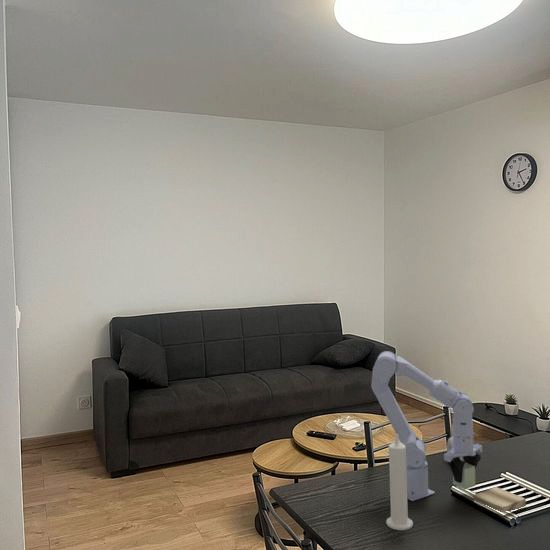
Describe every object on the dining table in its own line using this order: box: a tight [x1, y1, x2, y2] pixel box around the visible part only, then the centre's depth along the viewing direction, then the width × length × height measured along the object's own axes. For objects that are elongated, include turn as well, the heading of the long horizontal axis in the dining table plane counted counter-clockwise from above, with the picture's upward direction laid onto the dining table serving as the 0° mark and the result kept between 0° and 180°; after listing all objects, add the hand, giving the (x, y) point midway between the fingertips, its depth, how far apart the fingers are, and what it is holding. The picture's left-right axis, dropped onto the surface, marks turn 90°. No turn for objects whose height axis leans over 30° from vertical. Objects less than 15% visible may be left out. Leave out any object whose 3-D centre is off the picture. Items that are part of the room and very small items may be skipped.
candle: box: [386, 433, 414, 531], centre depth 155 cm, size 7×7×25 cm
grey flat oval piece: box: [446, 436, 464, 461], centre depth 195 cm, size 10×4×10 cm, turn 179°
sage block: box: [452, 463, 476, 490], centre depth 172 cm, size 4×4×6 cm
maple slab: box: [472, 486, 527, 512], centre depth 165 cm, size 10×10×3 cm
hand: (463, 479), depth 172 cm, fingers closed on sage block, 4 cm apart
